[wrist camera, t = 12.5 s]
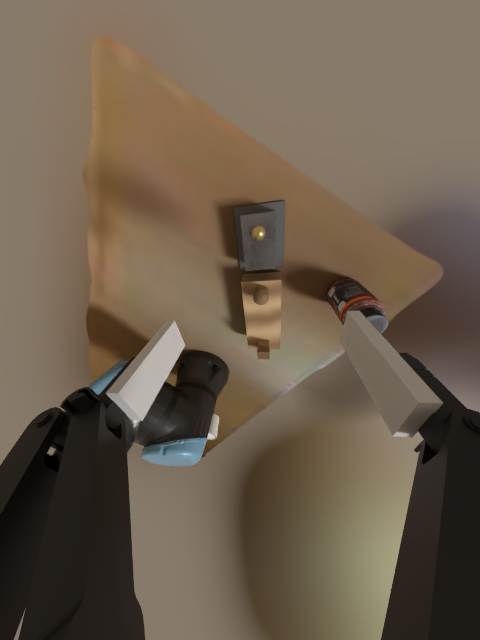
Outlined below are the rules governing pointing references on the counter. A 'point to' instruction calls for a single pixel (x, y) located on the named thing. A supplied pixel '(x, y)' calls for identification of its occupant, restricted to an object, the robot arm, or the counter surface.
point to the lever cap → (259, 240)
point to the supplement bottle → (356, 302)
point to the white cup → (213, 427)
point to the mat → (279, 209)
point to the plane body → (262, 310)
